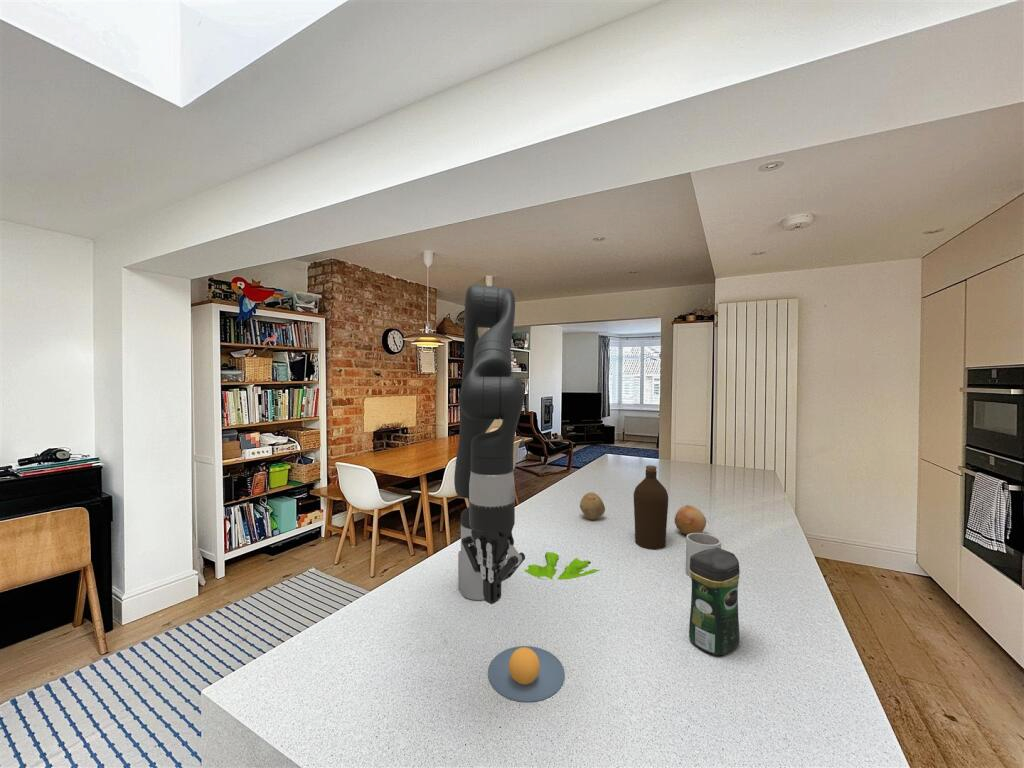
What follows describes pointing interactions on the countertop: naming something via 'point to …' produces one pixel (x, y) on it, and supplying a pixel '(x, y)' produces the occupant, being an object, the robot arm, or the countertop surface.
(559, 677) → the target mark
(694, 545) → the mug
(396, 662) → the countertop surface
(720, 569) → the coffee jar
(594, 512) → the potato
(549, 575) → the leaves
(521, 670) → the ball
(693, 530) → the onion
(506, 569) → the robot arm
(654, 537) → the olive oil
